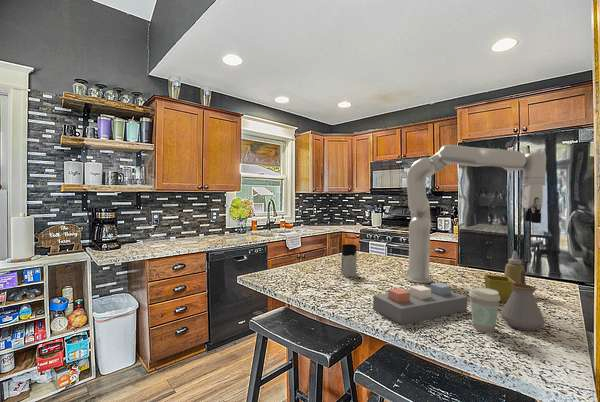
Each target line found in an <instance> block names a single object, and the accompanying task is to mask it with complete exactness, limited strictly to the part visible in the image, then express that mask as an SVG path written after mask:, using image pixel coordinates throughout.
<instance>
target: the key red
mask: <svg viewBox="0 0 600 402" xmlns="http://www.w3.org/2000/svg"><path fill="white" fill-rule="evenodd" d="M388 299H390V300H392V301H394V302H396V303H404V302H410V292H408V291H406V290H405V289H403V288H400V287H398V288H393V289H391V288H390V289H388Z"/></svg>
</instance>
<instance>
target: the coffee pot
mask: <svg viewBox="0 0 600 402" xmlns="http://www.w3.org/2000/svg"><path fill="white" fill-rule="evenodd" d="M524 271H525V270H524ZM524 271H521V273H522V274H520V272H519V274H520V275H521V284H518V283H514V284H511V286H512V288H513V292H512V294H511V295H510V297H509V299H508V301H507V302H506V303H505V304H504V306H503V307H502V309H501V310H500V315H501V318H502V319H503V320H504V322H506V324H507V325H509V326H510V327H512V328H515V329H517V330H521V331H529V332H534V331H537V330H538V329H540V328H542V327H543V326H544V325H545V323H546V320H545V319H544V316H543V313H542V312H541V309H540V307H539V305H538V303H537V301H536V299H535V296H534V294H535V292H536V291H537V287H535V286H533V285H529V284H526V285H525V284H524V283H525V282H526V276H527V275H528V273H527V272H526V271H525V274H524ZM524 276H525V277H524Z"/></svg>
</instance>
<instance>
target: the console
mask: <svg viewBox="0 0 600 402" xmlns="http://www.w3.org/2000/svg"><path fill="white" fill-rule="evenodd" d="M426 287H427V286H426ZM427 288H429V289H430V286H428V287H427ZM405 291H408V292H410V289H406V290H405ZM372 297H373V298H372V309H373V310H374V311H376V312H378V313H380V314H381V315H383V316H385V317H387V318H389V319H390V320H392V321H394V322H395V323H397V324H400V325H404V324H409V323H415V322H419V321H424V320H428V319H434V318H438V317H443V316H448V315H452V314H457V313H458V314H459V313H462V312H466V311H468V296H466V295H463V294H460V293H457V292H454V291H451V295H446V296H439V295H436V294H434V293H431V298H428V299H422V300H420V299H418V298H415V297H413V296H410V302H404V303H396V302H394V301H392V300H390V299H388V293H387V292H386V293H380V294H374V295H373V296H372Z"/></svg>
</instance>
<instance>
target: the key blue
mask: <svg viewBox="0 0 600 402" xmlns="http://www.w3.org/2000/svg"><path fill="white" fill-rule="evenodd" d="M429 287H430V289H431V293H434V294H436V295H439V296H446V295H451V292H452V290H451V289H452V286H451V285H448V284H446V283H442V282H435V283H430V284H429Z"/></svg>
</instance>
